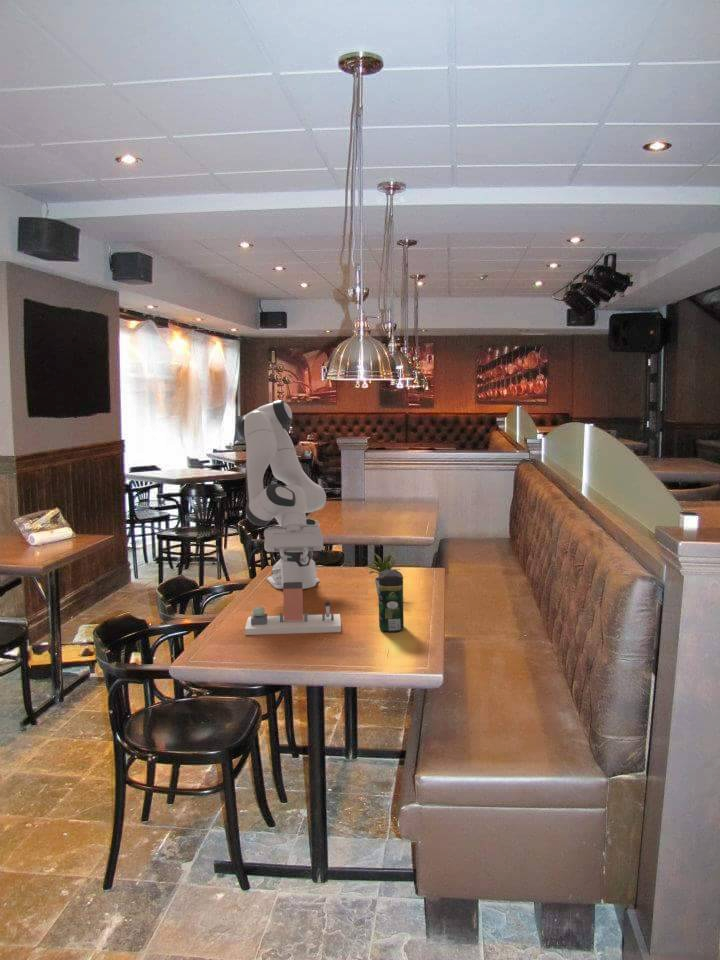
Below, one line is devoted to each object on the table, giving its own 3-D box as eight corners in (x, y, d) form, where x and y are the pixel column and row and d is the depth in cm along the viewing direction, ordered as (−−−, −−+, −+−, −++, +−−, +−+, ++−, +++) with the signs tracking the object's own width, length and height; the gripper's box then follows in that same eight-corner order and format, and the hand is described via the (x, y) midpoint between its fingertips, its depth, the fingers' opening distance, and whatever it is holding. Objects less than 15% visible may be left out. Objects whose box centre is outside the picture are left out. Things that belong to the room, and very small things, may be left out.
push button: (253, 612, 235) (253, 606, 234) (265, 612, 235) (264, 606, 235) (252, 616, 231) (252, 610, 231) (264, 615, 231) (264, 609, 231)
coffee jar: (378, 623, 237) (377, 567, 235) (402, 622, 237) (402, 567, 235) (379, 633, 228) (378, 575, 225) (404, 633, 228) (404, 575, 225)
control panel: (248, 622, 239) (248, 609, 239) (339, 619, 241) (339, 606, 240) (245, 635, 227) (244, 621, 227) (341, 631, 229) (340, 618, 229)
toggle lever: (325, 616, 235) (324, 601, 237) (330, 616, 236) (330, 601, 237) (325, 616, 234) (324, 600, 235) (330, 616, 234) (330, 600, 235)
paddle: (284, 618, 235) (283, 582, 233) (303, 618, 235) (302, 581, 233) (284, 620, 233) (283, 584, 231) (303, 619, 233) (302, 583, 232)
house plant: (373, 587, 279) (373, 545, 277) (407, 590, 274) (407, 548, 272) (359, 597, 266) (359, 554, 264) (395, 601, 261) (395, 556, 259)
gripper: (263, 522, 251) (262, 556, 243) (322, 520, 253) (323, 554, 244) (264, 532, 256) (263, 566, 248) (322, 531, 258) (323, 564, 249)
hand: (293, 560), depth 246 cm, fingers open, 5 cm apart
